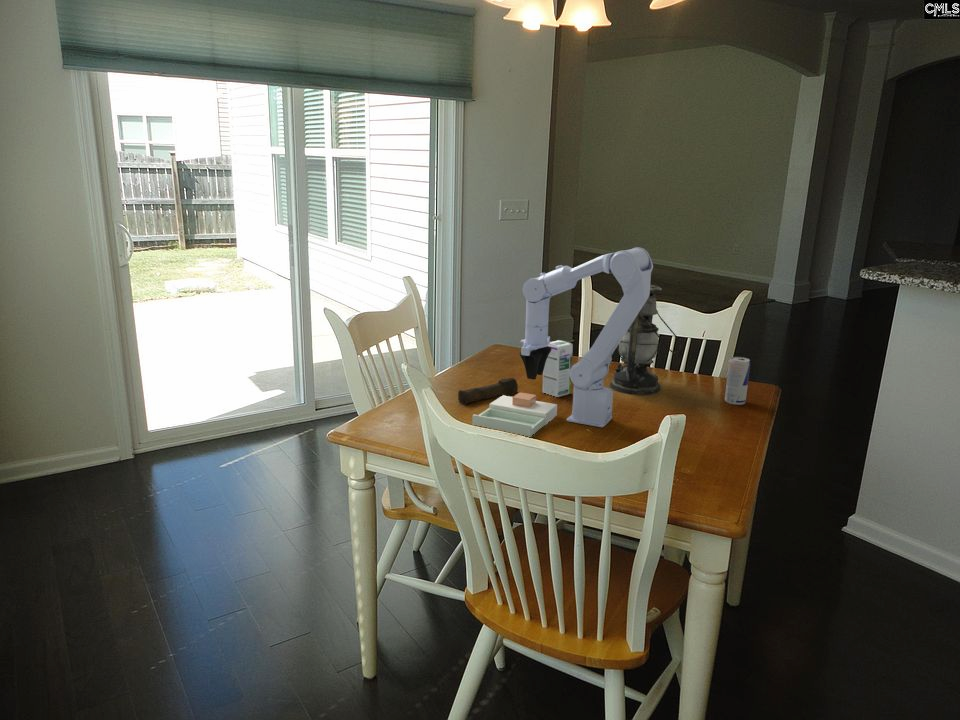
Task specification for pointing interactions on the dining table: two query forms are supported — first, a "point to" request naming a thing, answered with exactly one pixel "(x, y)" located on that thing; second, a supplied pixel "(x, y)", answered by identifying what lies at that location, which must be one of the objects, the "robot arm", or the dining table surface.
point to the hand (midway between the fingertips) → (534, 376)
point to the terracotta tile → (524, 399)
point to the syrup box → (558, 369)
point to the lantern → (640, 352)
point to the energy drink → (737, 380)
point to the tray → (509, 422)
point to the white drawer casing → (526, 408)
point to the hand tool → (488, 391)
